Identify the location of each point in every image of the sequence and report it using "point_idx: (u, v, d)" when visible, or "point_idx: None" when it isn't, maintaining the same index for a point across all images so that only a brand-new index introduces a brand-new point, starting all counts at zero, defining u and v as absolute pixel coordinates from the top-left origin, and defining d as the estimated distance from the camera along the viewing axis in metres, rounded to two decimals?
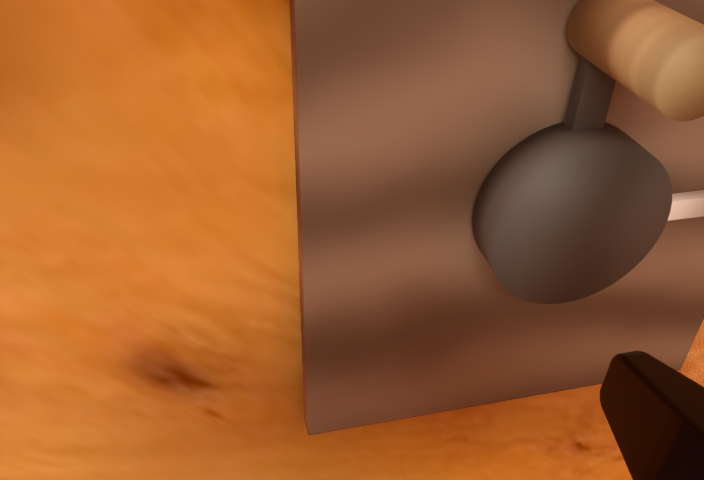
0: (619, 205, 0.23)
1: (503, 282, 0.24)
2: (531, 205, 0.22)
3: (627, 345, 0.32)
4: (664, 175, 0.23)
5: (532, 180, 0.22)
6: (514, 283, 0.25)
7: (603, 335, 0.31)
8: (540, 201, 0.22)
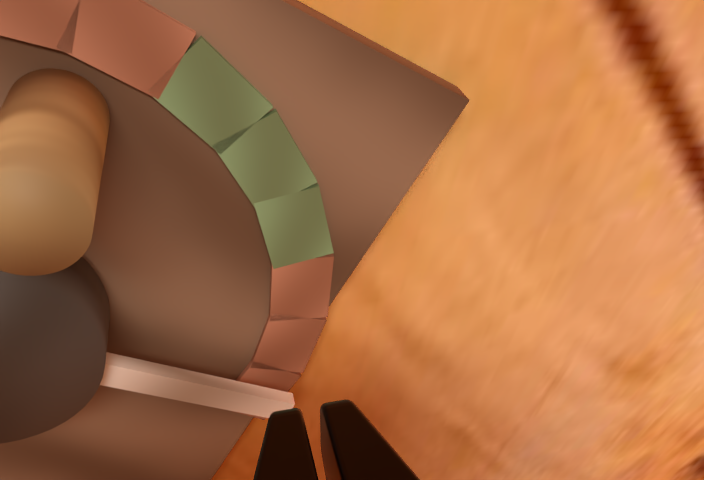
0: (25, 347, 0.18)
1: None
2: None
3: None
4: (93, 332, 0.18)
5: None
6: None
7: None
8: None
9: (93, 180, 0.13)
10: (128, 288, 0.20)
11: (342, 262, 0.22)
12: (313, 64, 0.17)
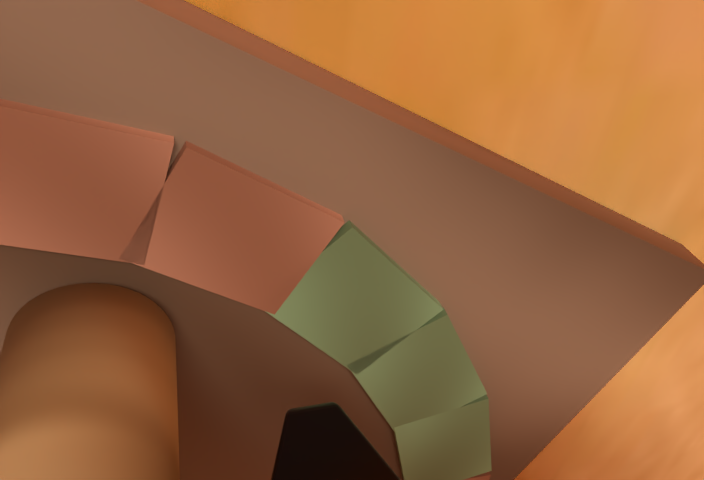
0: None
1: None
2: None
3: None
4: None
5: None
6: None
7: None
8: None
9: None
10: None
11: (497, 475, 0.15)
12: (509, 246, 0.11)
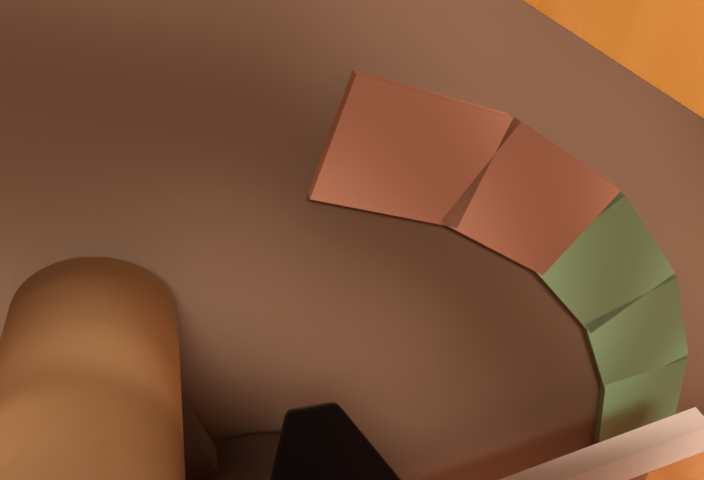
0: None
1: None
2: None
3: None
4: None
5: None
6: None
7: None
8: None
9: None
10: None
11: None
12: None
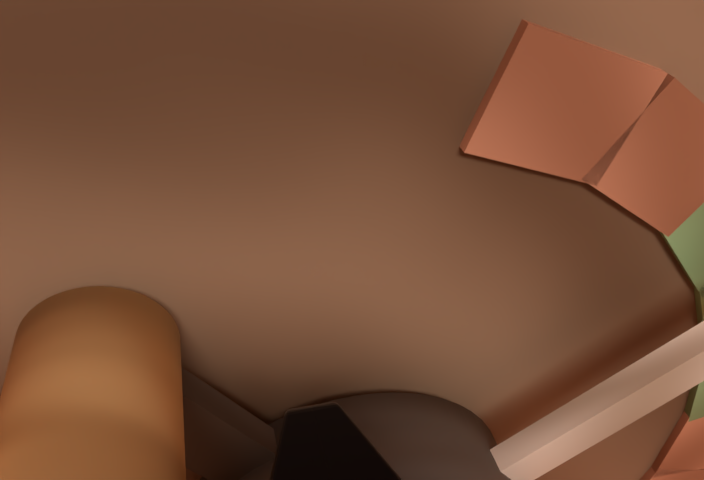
0: None
1: None
2: None
3: None
4: None
5: None
6: None
7: None
8: None
9: None
10: None
11: None
12: None
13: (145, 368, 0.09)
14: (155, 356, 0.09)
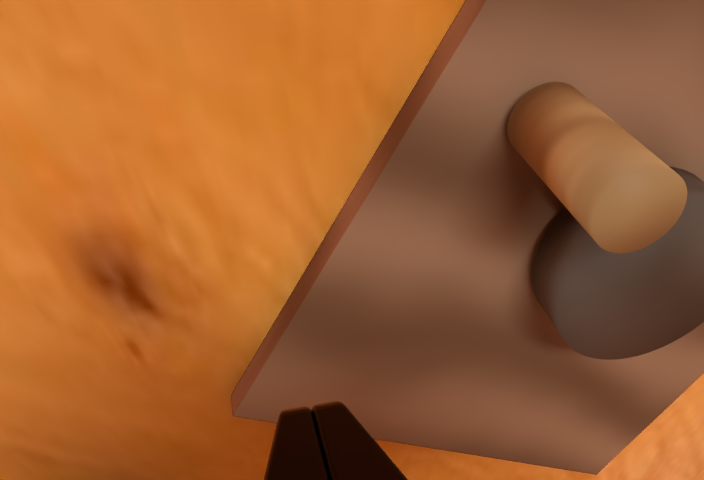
0: (678, 249, 0.21)
1: (603, 357, 0.24)
2: (580, 303, 0.22)
3: (574, 431, 0.31)
4: None
5: (563, 289, 0.21)
6: (615, 352, 0.24)
7: (564, 412, 0.29)
8: (587, 296, 0.21)
9: (636, 145, 0.16)
10: None
11: None
12: None
13: (602, 111, 0.18)
14: None
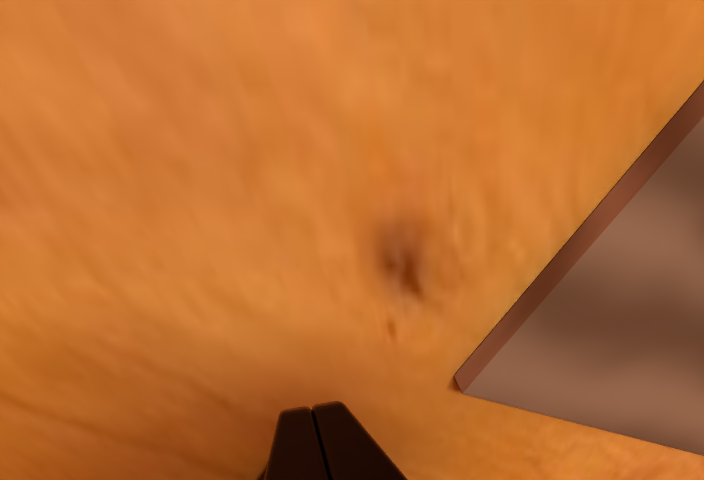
0: None
1: None
2: None
3: None
4: None
5: None
6: None
7: None
8: None
9: None
10: None
11: None
12: None
13: None
14: None
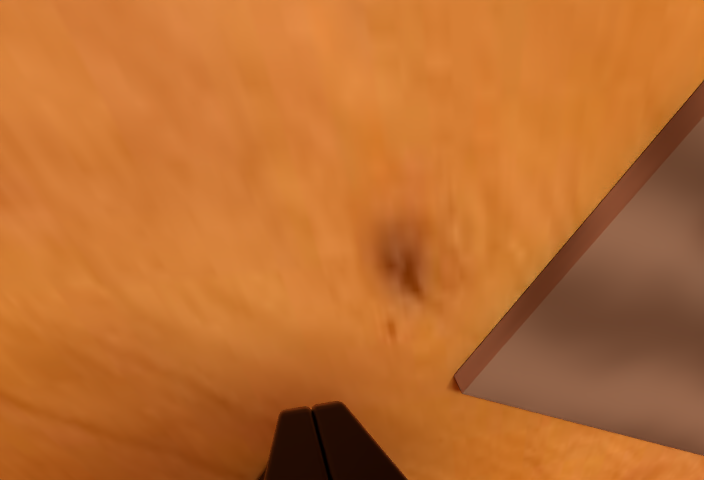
0: None
1: None
2: None
3: None
4: None
5: None
6: None
7: None
8: None
9: None
10: None
11: None
12: None
13: None
14: None
